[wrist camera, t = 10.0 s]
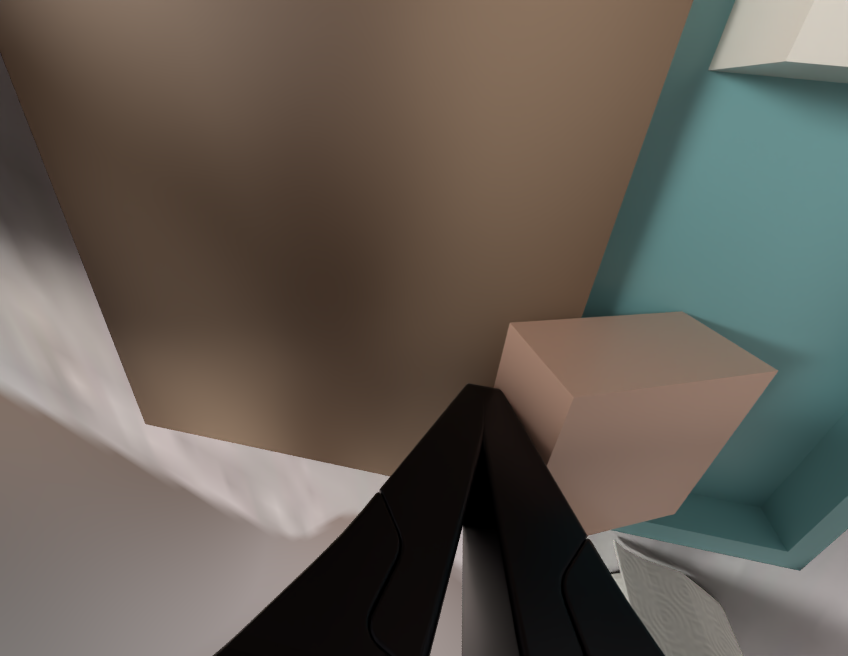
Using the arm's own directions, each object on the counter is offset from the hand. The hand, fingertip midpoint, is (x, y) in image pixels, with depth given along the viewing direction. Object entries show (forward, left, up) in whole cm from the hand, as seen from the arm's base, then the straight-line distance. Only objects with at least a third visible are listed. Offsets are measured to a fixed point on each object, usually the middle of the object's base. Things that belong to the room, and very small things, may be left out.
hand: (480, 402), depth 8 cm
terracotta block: (+2, 0, -1) cm, 2 cm away
